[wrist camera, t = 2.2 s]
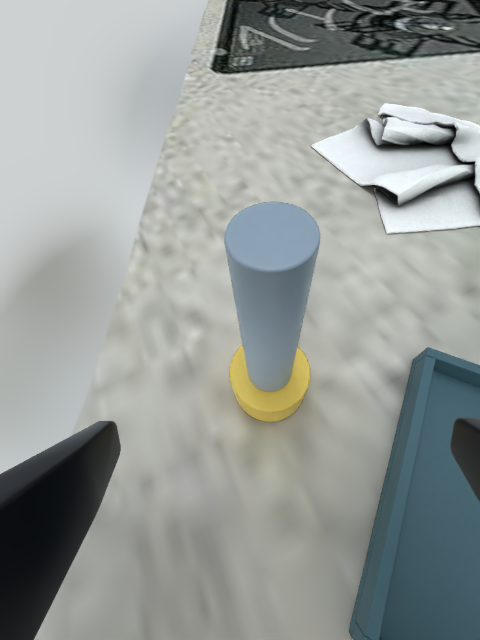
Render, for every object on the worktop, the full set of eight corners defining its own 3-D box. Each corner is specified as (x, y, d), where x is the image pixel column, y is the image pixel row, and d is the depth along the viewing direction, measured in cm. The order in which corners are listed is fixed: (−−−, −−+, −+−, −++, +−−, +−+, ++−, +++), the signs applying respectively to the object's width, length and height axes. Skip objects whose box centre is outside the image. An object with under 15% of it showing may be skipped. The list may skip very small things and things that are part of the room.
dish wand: (308, 421, 19) (384, 304, 7) (233, 422, 19) (173, 312, 7) (301, 351, 21) (347, 170, 9) (234, 353, 21) (191, 182, 9)
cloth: (587, 236, 24) (617, 212, 22) (313, 233, 27) (317, 211, 24) (504, 105, 34) (519, 80, 32) (309, 112, 36) (312, 89, 34)
